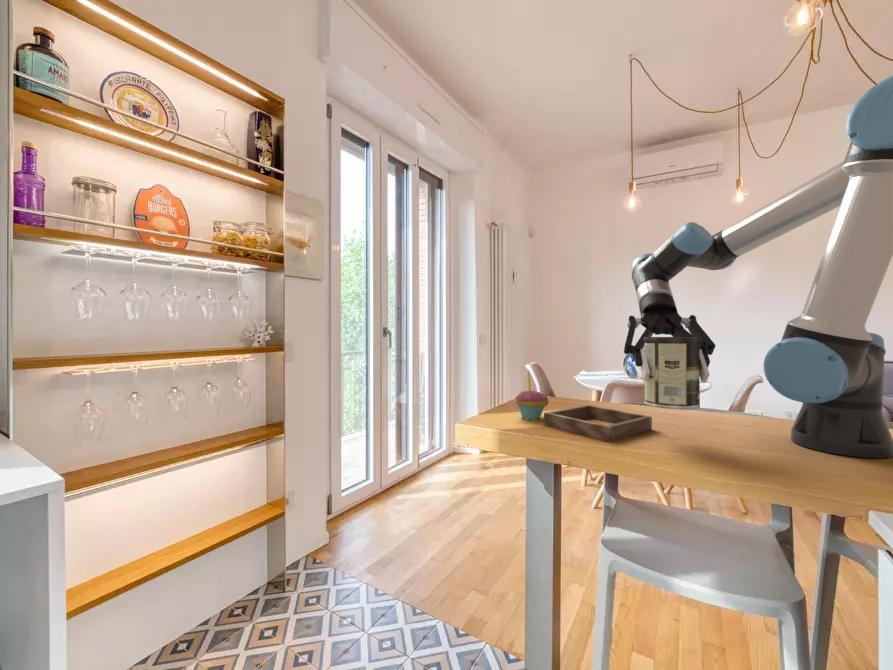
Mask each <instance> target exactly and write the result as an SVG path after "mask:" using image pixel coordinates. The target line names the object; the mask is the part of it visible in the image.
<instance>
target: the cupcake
mask: <svg viewBox="0 0 893 670" xmlns="http://www.w3.org/2000/svg"><path fill="white" fill-rule="evenodd" d="M529 372H530V371H529V370H528V371H527V373H528V374H527V385H528V386H527V388H528V390H525V391H522V392H519V394H518V395H516V396H515V401H514V402H515V404H516V405H517V407H518V410H519V412H520V414H521V415H520V416H521V418H522V417H523V418H522V419H524V418H528V419H527V420H530V419H536V420H539V419H538V418H540V419H541V417H542V414H543V410H544V409H545V408H546V407H547V406H548V405H549V402H550V401H549V398H548V397H547V395H545V394H544V393H543V392H540V391H536V390H532V387H531V385H532V384H531V382H532V381H531V374H530V373H529Z"/></svg>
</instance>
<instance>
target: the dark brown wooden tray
mask: <svg viewBox="0 0 893 670" xmlns="http://www.w3.org/2000/svg"><path fill="white" fill-rule="evenodd" d="M587 417H588V418H589V417H590V419H594V420H599V421H604V422H609V423H612V424H608V425H606V424H602V423H597V422H594V421H593V422H592V421H588V420H584V419H587ZM582 418H583V419H582ZM545 425H546V427H549V428H553V429H558V430H561V431H565V432H568V433H573V434H576V435H581V436H583V437H589V438H592V439H596V440H600V441H604V442H609V443H610V442H612V441H616V440H619V439H624V438H626V436H627V437H630V435H631V436H633V434H634V435H637V434H641V433H644V432H647V431H651V430H652V425H653V416H651V415H644V414H639V413H635V412H634V413H633V412H628V411H623V410H618V409H612V408H608V407H607V408H606V407H602V406H596V405H591V404H584V405H579V406H574V407H567V408H563V409H558V410H553V411H547V412H544V413H543V426H545ZM640 432H641V433H640ZM623 437H624V438H623Z"/></svg>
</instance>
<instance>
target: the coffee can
mask: <svg viewBox="0 0 893 670" xmlns="http://www.w3.org/2000/svg"><path fill="white" fill-rule="evenodd" d="M644 342H645V343H644V348H643V349H645V354H646V357H647V362H648V367H649V371H650V374H649V378H648V381H644V401H643V402H644V404H645V405H646V406H649V407H652V408H659V409H667V410H681V411H682V410H696V409H699V408H701V402H700V401H701V400H700V395H701V393H700V392H701V390H700V389H701V388H700V387H701V386H700V384H701V383H700V380H701V378H700V337H673V336H651V337H644Z"/></svg>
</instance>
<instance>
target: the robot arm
mask: <svg viewBox="0 0 893 670" xmlns="http://www.w3.org/2000/svg"><path fill="white" fill-rule="evenodd" d="M845 131H846V136H847V139H848V140H849V141H850V144H849V147H848V149H847V152H846V155H845V157H844V160H842V161H841V162H839V163H838V164H835V165H834V166H832V167H831V168H829V169H827V170H825V171H824V172H822V173H819V174H818V175H815V177H813V178H811V179H809V180H807V181H805V182H804V183H803V184H800V185H799V186H797V187H796V188H794V189H791V190H790V191H788V192H786V193H785V194H783V195H781V196H780V197H777V198H776V199H774V200H773V201H770V202H769V203H768V204H765V205H764V206H762V207H760V208H758V209H757V210H755V211H753V212H752V213H750V214H748V215H746V216H744V217H742V218H740V219H739V220H737V221H735V222H733V223H731V224H730V225H729V226H727V227H725V228H723V229H722V230H720V231H718V232H717V233H715V234H713V235H712V234H711V233H710V232H709V231H708V229H706V228H705V227H703V226H702V225H700V224H698V223H696V222H693V221H688V222H686V223H685V224H684V225H682V226H681V227H680V228H679V229H677V230H676V231H675V232H673V233H672V235H671V236H670V237H669V238H668V239H667V240H666V241H665V242H664V243H663V244H662V245H661V246H659V247H658V249H656V250H655V251H654V252H653V253H644V254H642V255H639V256H638V257H637V258H635V259H634V260H633V262H632V264H631V280H632V283H633V285H634V289H635V293H636V299H637V304H638V309H639V312H640V317H635V316H634V315H629V317H628V320H627V327H628V332H627V335H626V339H625V343H624V348H623V354H625V355H629V354H631V355H632V358H633V360H634V363H635V366H636V367H640V370H641V375H642V378H643V379H642V380H643V382H645V381H648V378H649V374H650V371H649V367H648V362H647V357H646V354H645V348H644V343H645V342H644V337H653V335H654V334H655V335H656V336H657V335H669V336H671V337H700V380H701V383H703V384H704V383H707V381H708V379H709V377H710V371H709V366H710V363H711V360H710V356H711V355H713V353H714V351H715V349H716V344H715V342H714V341H713V340H712V339H711V338H710V336H709V335H708V334H707V332H706V331H705V330H704V329H703V328H702V327H701V325H700V324H699V322H698V321H697V317H696V315H694V314H691V315H689V317H682V316H681V315H680V314H679V312H678V308H677V305H676V302H675V298H674V295H673V292H672V289H671V286H670V282H669V281H671V280H672V279H674V277H676V276H678V274H679V273H681V272H682V271H683V270H684V269H686V267H689V268H697V269H705V270H710V271H717V270H719V271H720V270H725V269H728V268H729V267H731V266H732V265H733V263H734V262H735V261H736V259H738V258H739V257H741V256H743V255H745V254H747V253H749V252H751V251H753V250H755V249H757V248H759V247H761V246H763V245H764V244H767V243H769V242H771V241H772V240H775V239H778V238H779V237H780V236H783V235H785V234H787V233H789V232H791V231H794V230H795V229H797V228H799V227H801V226H803V225H804V224H807V223H809V222H812V221H813V220H815V219H817V218H819V217H821V216H823V215H825V214H827V213H829V212H831V211H833V210H835V209H837V208H839V209H838V211H837V213H836V217H835V220H834V222H833V225H832V228H831V231H830V233H829V236H828V240H827V242H826V244H825V247H824V251H823V254H822V255H821V258H820V261H819V264H818V268H817V270H816V272H815V276H814V277H813V281H812V283H811V287H810V290H809V292H808V295H807V298H806V300H805V304H804V306H803V310H802V312H801V314H800V315H798V316H796V317H793V318H792V319H790V320H789V321H788V322H787V324H786V326H785V329H784V332H783V335H782V337H781V341H779V342H777V343H775V344H774V345H773V346H772V347H771V348H770V349H769V350H768V352H766V354H765V357H764V360H763V373H764V376H765V379H766V380H767V382H768V383H769V385H770V386H771V388H773V390H775V391H776V393H778V394H780V395H781V396H783V397H785V398H786V399H789V400H792V401H795V402H799V403H802V404H801V407H800V409H799V412H798V414H797V416H796V418H795V419H794V422H793V425H792V427H791V429H790V440H791V442H792V443H794V444H797V445H799V446H801V447H804V448H807V449H808V448H809V449H811V450H815V451H820V452H824V453H829V454H834V455H840V456H841V455H843V456H849V457H855V458H869V459H885V458H884V457H888V458H892V457H893V436H892V434H891V431H890V428H889V427H888V425H887V421H886V420H885V416H884V412H883V397H884V373H885V372H884V371H885V355H886V352H887V351H886V350H887V349H886V347H885V341H884V338H883V337H882V336H881V335H879V334H877V333H874V332H868V330H867V329H866V327H865V326H866V324H867V322H868V319H869V316H870V313H871V311H872V309H873V306H874V303H875V301H876V298H877V296H878V293H879V291H880V288H881V287H882V283H883V281H884V278H885V276H886V273H887V271H888V268H889V266H890V265H891V264H890V263H891V260H892V258H893V75H891V76H889V77H886V78H885V79H883V80H882V81H879V82H878V83H877V84H875V85H874V86H872V88H870V89H868V90H867V91H865V92H864V93H863V94H862V95H861V96H860V97H859V98H858V100H857V101H856V102H855V103H854V104H853V106H852V107H851V109H850V110H849V113H848V115H847V118H846V121H845ZM639 325H641V326H642V327H644V328H645V329H644V331H643V332H642V334H641V335H640V337H639V339H638V340H637V342H636V343H635V344H634V345H632V344H633V341H634V336H635V331H636V329H637V328H638V327H639ZM684 327H685V328H684ZM891 456H892V457H891Z"/></svg>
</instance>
